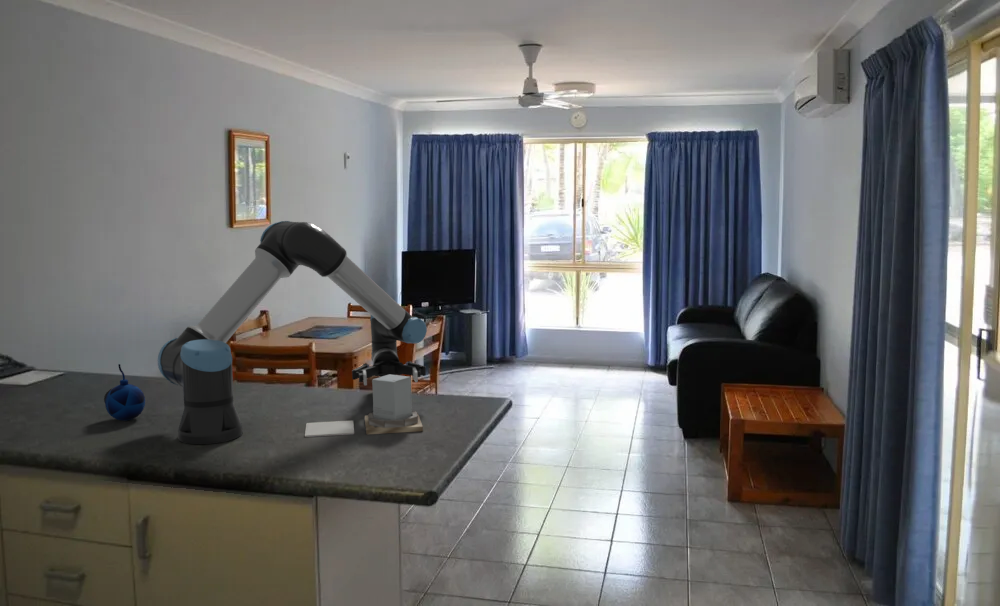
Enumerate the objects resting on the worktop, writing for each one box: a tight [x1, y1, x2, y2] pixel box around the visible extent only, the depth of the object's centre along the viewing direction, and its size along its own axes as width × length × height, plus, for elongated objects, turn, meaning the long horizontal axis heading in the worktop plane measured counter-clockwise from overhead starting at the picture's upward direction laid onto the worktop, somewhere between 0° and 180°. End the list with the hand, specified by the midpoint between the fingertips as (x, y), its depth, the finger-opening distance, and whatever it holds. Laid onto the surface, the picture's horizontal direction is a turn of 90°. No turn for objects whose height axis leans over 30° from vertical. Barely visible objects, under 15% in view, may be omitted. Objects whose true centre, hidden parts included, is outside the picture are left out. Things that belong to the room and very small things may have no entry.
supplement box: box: [371, 374, 413, 427], centre depth 220 cm, size 7×7×13 cm
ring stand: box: [364, 410, 424, 435], centre depth 220 cm, size 14×14×3 cm
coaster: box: [304, 419, 355, 438], centre depth 217 cm, size 12×12×1 cm
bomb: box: [103, 363, 146, 422], centre depth 228 cm, size 10×11×15 cm
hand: (390, 378), depth 229 cm, fingers open, 13 cm apart
